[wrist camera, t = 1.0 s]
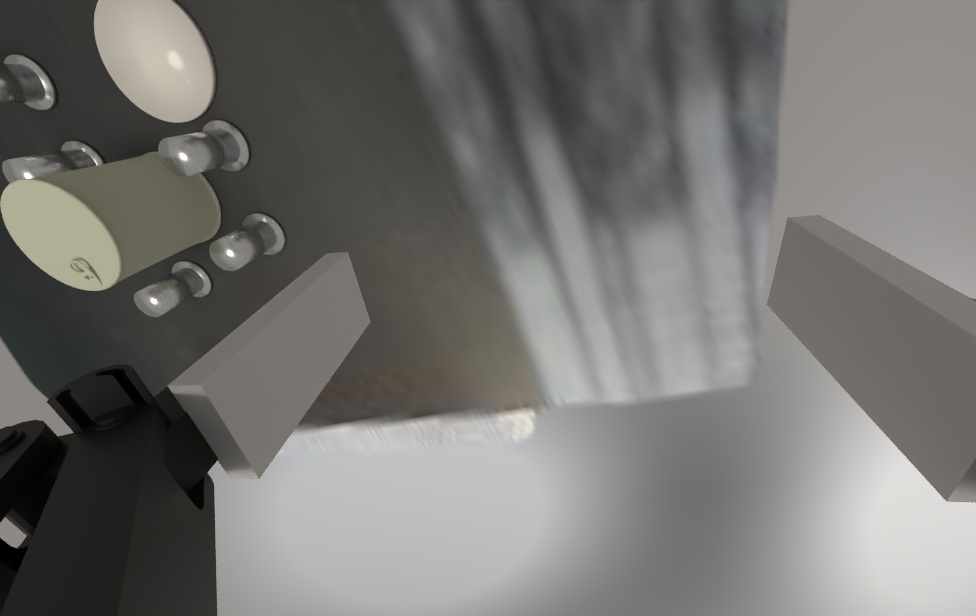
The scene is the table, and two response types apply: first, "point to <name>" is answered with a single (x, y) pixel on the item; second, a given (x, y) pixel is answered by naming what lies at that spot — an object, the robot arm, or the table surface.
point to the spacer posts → (178, 154)
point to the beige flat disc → (156, 57)
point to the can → (109, 219)
